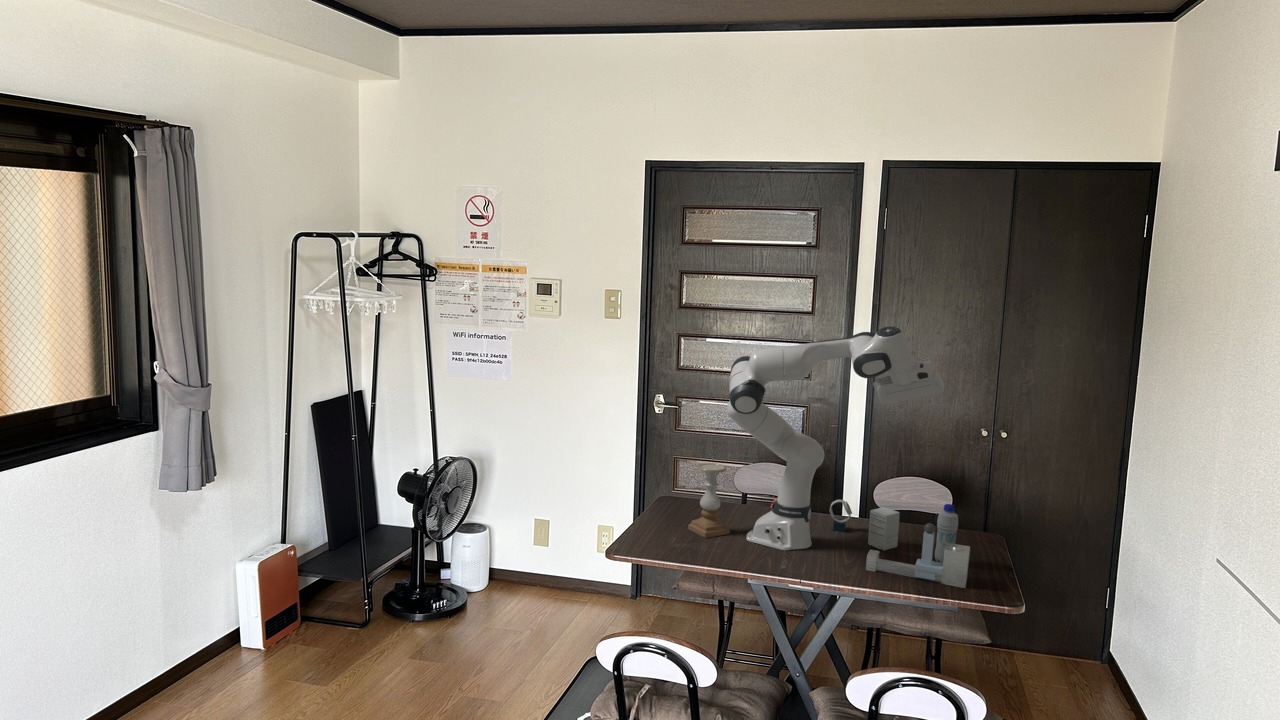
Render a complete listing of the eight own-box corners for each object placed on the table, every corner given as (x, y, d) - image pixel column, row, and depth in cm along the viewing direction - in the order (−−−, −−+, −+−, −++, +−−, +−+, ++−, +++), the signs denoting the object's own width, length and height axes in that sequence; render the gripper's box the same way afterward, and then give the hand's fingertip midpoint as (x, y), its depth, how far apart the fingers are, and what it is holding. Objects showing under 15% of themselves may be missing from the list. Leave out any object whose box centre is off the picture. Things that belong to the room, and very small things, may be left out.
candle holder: (704, 538, 297) (708, 471, 294) (687, 528, 306) (690, 464, 303) (730, 534, 303) (733, 468, 300) (712, 525, 312) (715, 461, 309)
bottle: (937, 557, 288) (942, 500, 285) (957, 562, 283) (963, 504, 281) (930, 562, 282) (935, 504, 280) (950, 567, 278) (956, 508, 276)
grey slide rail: (865, 570, 273) (868, 535, 272) (870, 562, 280) (872, 528, 279) (965, 588, 261) (968, 553, 259) (966, 580, 268) (970, 545, 266)
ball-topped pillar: (914, 576, 267) (918, 524, 265) (916, 570, 272) (921, 519, 270) (941, 581, 263) (945, 528, 261) (943, 575, 269) (947, 523, 267)
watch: (850, 533, 309) (852, 503, 308) (828, 530, 311) (830, 501, 310) (850, 528, 315) (852, 499, 313) (828, 525, 317) (830, 497, 315)
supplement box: (880, 541, 302) (883, 506, 300) (897, 547, 296) (900, 512, 295) (866, 544, 298) (869, 509, 296) (884, 551, 292) (887, 515, 290)
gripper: (870, 385, 269) (884, 420, 274) (936, 371, 259) (949, 407, 264) (872, 374, 274) (886, 409, 279) (936, 360, 264) (949, 396, 269)
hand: (917, 408), depth 271 cm, fingers open, 8 cm apart
